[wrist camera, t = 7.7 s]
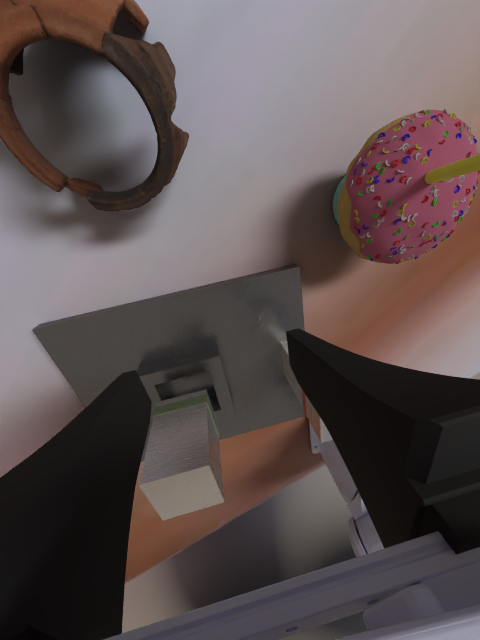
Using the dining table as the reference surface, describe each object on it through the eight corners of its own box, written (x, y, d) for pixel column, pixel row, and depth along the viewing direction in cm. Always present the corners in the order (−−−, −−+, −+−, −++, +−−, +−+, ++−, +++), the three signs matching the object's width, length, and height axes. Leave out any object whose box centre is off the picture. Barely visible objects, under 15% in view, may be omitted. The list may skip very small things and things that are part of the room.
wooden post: (218, 422, 20) (225, 502, 15) (172, 435, 20) (162, 521, 14) (206, 388, 18) (209, 464, 13) (156, 401, 18) (137, 485, 13)
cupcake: (290, 204, 18) (422, 194, 7) (374, 103, 16) (720, -113, 5) (351, 272, 21) (502, 332, 11) (426, 194, 19) (704, 173, 9)
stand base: (307, 408, 28) (350, 485, 20) (128, 457, 27) (98, 562, 19) (295, 264, 20) (359, 298, 12) (40, 324, 19) (-79, 407, 11)
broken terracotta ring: (200, 37, 14) (222, 67, 9) (162, 187, 20) (164, 247, 16) (-131, -223, 8) (-519, -493, 3) (-37, 107, 14) (-126, 167, 10)
